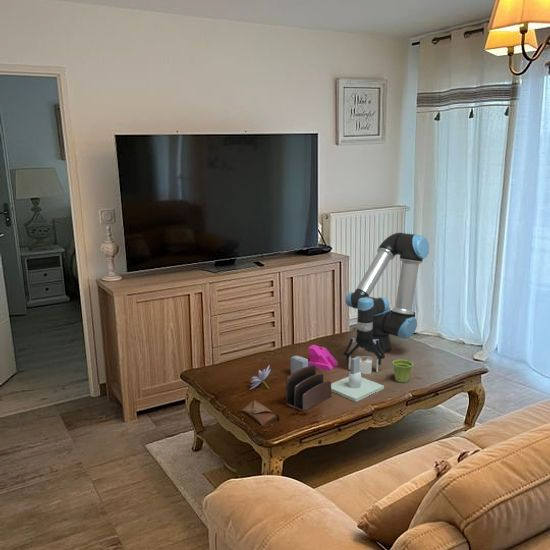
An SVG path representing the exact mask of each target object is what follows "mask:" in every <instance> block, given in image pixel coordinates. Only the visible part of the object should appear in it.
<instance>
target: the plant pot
mask: <svg viewBox="0 0 550 550" xmlns="http://www.w3.org/2000/svg"><path fill="white" fill-rule="evenodd" d="M392 365H393V368H394V381H396V382H397V383H407V382H409V379H410V374H411V370H412V368H413V366H414V364H413V362H412V361H409V360H405V359H395V360H393V361H392Z"/></svg>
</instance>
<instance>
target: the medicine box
mask: <svg viewBox="0 0 550 550" xmlns="http://www.w3.org/2000/svg"><path fill="white" fill-rule="evenodd" d="M308 362H309V359H308V358H305V357H303V356H300V355H293V356H292V357H290V375H291V374H293V373H295V372H296V371H298V370H300V369H302V368H305V367H307V366H308Z"/></svg>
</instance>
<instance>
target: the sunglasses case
mask: <svg viewBox="0 0 550 550" xmlns="http://www.w3.org/2000/svg"><path fill="white" fill-rule="evenodd" d="M240 412H242V413H243V414H245V415H247V416H248V417H250V418H251V419H253V420H254V421H255V420H256V421H255V422H257V424H259V425H260V424H261V425H260V426H261V427H265V426H268V425H271V424H274V423H277V422H279V421H280V416H279V414H277V413H275V412H274V411H272V410H271V409H269V408H268V407H267V406H265V405H264V404H262V403H260V402H259V401H257V400H255V399H253V400H252V401H251V402H249V403H248V404H247V405H246V406H245V407H243V408H242V409H240ZM276 421H277V422H276ZM270 423H271V424H270ZM267 424H268V425H267ZM264 425H265V426H264Z"/></svg>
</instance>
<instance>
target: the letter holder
mask: <svg viewBox="0 0 550 550" xmlns="http://www.w3.org/2000/svg"><path fill="white" fill-rule="evenodd" d="M285 383H286V384H285V405H286V406H287V405H288V407H290V408H292V407H293V409H294V410H297V409H298V411H300V412H302V411H304V412H305V410H306V411H307V410H309V409H311V408H313V407H315V406H317V405H319V404H321V403H322V402H324V401H326V400H327V399H330V398H332V392H331V384H332V381H331V380H326V381H324V373H322V372H320V373H317V368H316V365H310V366H307V367H305V368H302V369H300V370H298V371H296V372H295V373H293V374H291V373H290V375H288V376H287V377H286V381H285Z"/></svg>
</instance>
